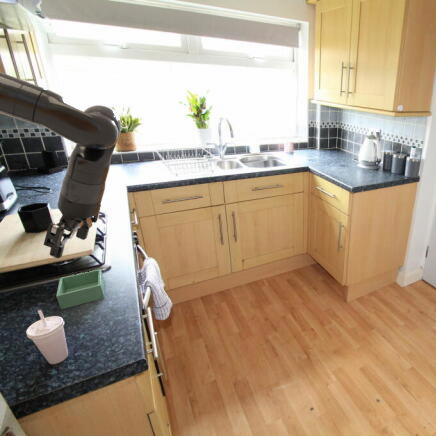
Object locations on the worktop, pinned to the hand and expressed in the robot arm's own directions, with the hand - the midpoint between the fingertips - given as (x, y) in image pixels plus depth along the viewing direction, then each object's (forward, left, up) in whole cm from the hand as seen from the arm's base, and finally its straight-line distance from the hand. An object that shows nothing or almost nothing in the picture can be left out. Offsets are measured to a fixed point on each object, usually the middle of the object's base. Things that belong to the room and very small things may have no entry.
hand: (68, 246), depth 77 cm
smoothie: (-7, -11, -23) cm, 26 cm away
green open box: (-3, +14, -22) cm, 27 cm away
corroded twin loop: (-4, +26, -23) cm, 35 cm away
